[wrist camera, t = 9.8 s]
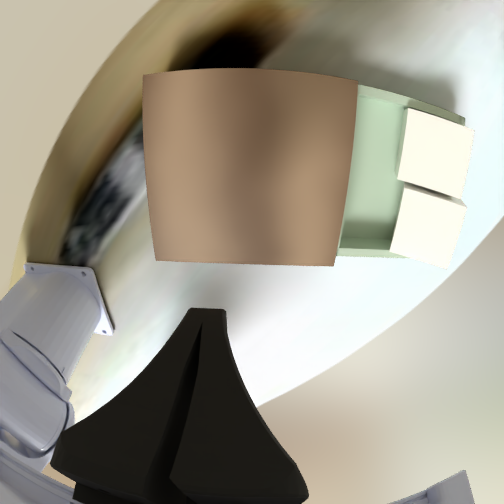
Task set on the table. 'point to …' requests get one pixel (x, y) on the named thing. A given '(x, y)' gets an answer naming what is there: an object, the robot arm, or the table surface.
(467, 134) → the tile
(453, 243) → the tile
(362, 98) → the tray
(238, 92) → the board
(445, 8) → the table surface
